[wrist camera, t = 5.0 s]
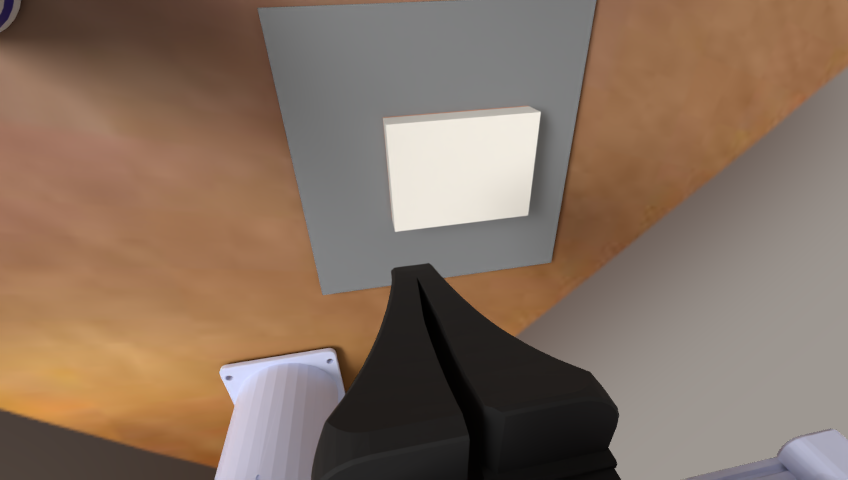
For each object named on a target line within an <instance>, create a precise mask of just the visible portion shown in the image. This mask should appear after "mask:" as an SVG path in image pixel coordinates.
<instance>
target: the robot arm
mask: <svg viewBox="0 0 848 480" xmlns="http://www.w3.org/2000/svg"><path fill="white" fill-rule="evenodd" d="M391 276H392V284H391V291H390V296H389V301H388V305H387V309H386V312H385V315H384V319H383V322H382V325H381V328H380V330H379V333H378V335H377V338H376V340H375V342H374V345H373V347H372V349H371V351H370V353H369V355H368V357H367V359H366V361H365V363H364V365H363V367H362V369H361V370H360V372H359V374H358V375H357V377H356V378H355V380H354V382H353V383H352V385H351V386H350V388H349V390H348V391H347V393H346V394H345V390H344V385H343V381H342V376H341V372H340V368H339V363H338V359H337V354H336V351H335V350H334V349H332V348H326V349H320V350H314V351H307V352H301V353H295V354H289V355H283V356H277V357H270V358H264V359H258V360H252V361H246V362H240V363H233V364H227V365H224V366H222V367H221V369H220V372H219V373H220V376H221V378H222V380H223V382H224V384H225V386H226V388H227V390H228V393H229V395H230V397H231V399H232V401H233V403H234V405H235V407H234V411H233V414H232V418H231V422H230V425H229V429H228V433H227V436H226V440H225V444H224V447H223V451H222V455H221V458H220V462H219V465H218V469H217V473H216V476H215V480H621V479H620V477H619V475H618V474H617V472H616V471H615V469H614V468H616V466H617V462H616V459H615V458H614V456H613V455H612V453H611V451H610V450H609V448H608V447H609V444H610V442H611V439H612V437H613V434H614V432H615V429H616V427H617V423H618V418H619V413H618V408H617V406H616V405H615V404H614V402H613V401H612V399H611V398H610V396H609V395H608V393H607V392H606V391H605V390H604V388H603V387H602V385H601V384H600V383H599V382H598V381H597V380H596V379H595V377H594V376H593V375H592V374H591V373H590V372H589V371H586V370H584V369H581V368H578V367H576V366H573V365H571V364H568V363H565V362H563V361H561V360H558V359H556V358H554V357H551V356H550V355H548V354H545V353H543V352H541V351H539V350H537V349H535V348H533V347H531V346H529V345H528V344H525V343H524V342H522V341H521V340H519V339H517V338H515V337H514V336H512V335H510V334H509V333H507V332H505V331H504V330H502V329H501V328H499V327H498V326H496V325H495V324H494V323H492V322H491V321H489V320H488V319H487V318H486V317H484V316H483V315H482V314H480V313H479V312H478V311H477V310H476V309H475V308H473V307H472V306H471V305H470V304H469V303H468V302H467V301H465V300H464V299H463V298H462V297H461V296H460V295H459V294H458V293H457V292H456V291H455V290H454V289H453V288H452V287H451V286H450V285H449V284H448V283H447V282H446V281H445V280H444V278H443V277H442V276H441V275H440V274H439V273H438V272H437V270H436V269H435V268H434V267H433V266H432V265H431V264H430V263H426V264H418V265H410V266H403V267H395V268H393V269H392V270H391ZM329 359H331V360H329ZM682 480H848V439H846V438H845V437H844V436H843V435H842V434H840V433H839V432H838V431H837V430H835V429H827V430H822V431H818V432H813V433H809V434H805V435H801V436H798V437H795V438H793V439H791V440H789V441H788V442H786V443H785V444H784V445H783V446H782V448H781V449H780V450H779V452H778V453H777V457H774V458H770V459H765V460H761V461H757V462H753V463H749V464H744V465H740V466H736V467H732V468H728V469H724V470H719V471H715V472H711V473H707V474H703V475H698V476H694V477H690V478H686V479H682Z"/></svg>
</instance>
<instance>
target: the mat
mask: <svg viewBox="0 0 848 480" xmlns="http://www.w3.org/2000/svg"><path fill="white" fill-rule="evenodd" d="M595 5H596V0H455V1H429V2H403V3H376V4H350V5H323V6H297V7H270V8H257V9H258V13H259V17H260V22H261V26H262V31H263V35H264V39H265V44H266V48H267V53H268V57H269V61H270V66H271V70H272V75H273V79H274V83H275V88H276V92H277V97H278V101H279V105H280V110H281V114H282V119H283V123H284V127H285V132H286V136H287V140H288V145H289V149H290V154H291V158H292V162H293V167H294V171H295V176H296V180H297V184H298V189H299V193H300V198H301V202H302V206H303V211H304V215H305V220H306V224H307V228H308V233H309V237H310V242H311V246H312V250H313V255H314V259H315V264H316V268H317V272H318V277H319V281H320V286H321V290H322V294H323V295H327V294H334V293H341V292H348V291H355V290H362V289H369V288H376V287H383V286H390V285H391V284H392V276H391V270H392V269H393V268H395V267H403V266H410V265H418V264H426V263H430V264H431V265H432V266H433V267H434V268H435V269H436V270H437V272H438V273H439V274H440V275H441V276H442V277H443V278H446V277H453V276H460V275H467V274H474V273H481V272H488V271H495V270H502V269H509V268H516V267H523V266H530V265H537V264H544V263H551V260H552V254H553V248H554V243H555V237H556V231H557V225H558V220H559V214H560V208H561V202H562V196H563V191H564V185H565V179H566V173H567V167H568V162H569V156H570V150H571V144H572V139H573V133H574V127H575V121H576V115H577V110H578V104H579V98H580V92H581V86H582V81H583V75H584V69H585V63H586V58H587V52H588V46H589V40H590V34H591V29H592V23H593V17H594V11H595ZM516 106H530V107H532V108H534V109H536V110H538V111H540V112H541V115H540V123H539V131H538V139H537V147H536V155H535V163H534V171H533V179H532V187H531V196H530V204H529V212H528V216H520V217H512V218H503V219H495V220H487V221H479V222H471V223H463V224H455V225H447V226H439V227H430V228H422V229H414V230H406V231H398V232H395V229H394V225H393V221H392V214H391V203H390V192H389V181H388V170H387V159H386V148H385V137H384V126H383V117H391V116H404V115H416V114H429V113H441V112H454V111H466V110H479V109H491V108H504V107H516Z"/></svg>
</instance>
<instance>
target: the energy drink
mask: <svg viewBox="0 0 848 480" xmlns="http://www.w3.org/2000/svg"><path fill="white" fill-rule="evenodd" d="M20 4H21V0H0V32H1V31H3V30H5V29H6V28H7V27H8V26H9V25H10V24H11V23H12V22H13V21H14V20H15V18H16V16H17V13H18V11H19V9H20Z"/></svg>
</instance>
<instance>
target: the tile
mask: <svg viewBox="0 0 848 480" xmlns="http://www.w3.org/2000/svg"><path fill="white" fill-rule="evenodd" d="M540 115H541V112H540V111H538V110H536V109H534V108H532V107H530V106H516V107H504V108H491V109H479V110H466V111H454V112H441V113H429V114H416V115H404V116H391V117H383V126H384V137H385V148H386V159H387V170H388V181H389V192H390V203H391V214H392V221H393V225H394V229H395V232H398V231H406V230H414V229H422V228H430V227H439V226H447V225H455V224H463V223H471V222H479V221H487V220H495V219H503V218H512V217H520V216H528V212H529V204H530V196H531V187H532V179H533V171H534V163H535V155H536V147H537V139H538V131H539V123H540Z"/></svg>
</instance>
